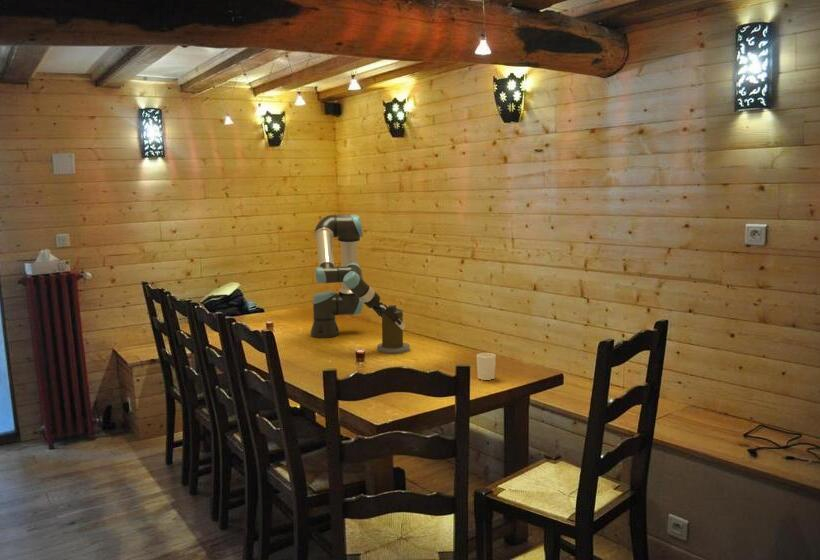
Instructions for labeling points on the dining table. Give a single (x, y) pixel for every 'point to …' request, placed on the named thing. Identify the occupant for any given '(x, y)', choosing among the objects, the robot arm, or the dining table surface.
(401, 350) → the disc
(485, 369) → the white cup
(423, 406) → the dining table surface
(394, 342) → the canister
